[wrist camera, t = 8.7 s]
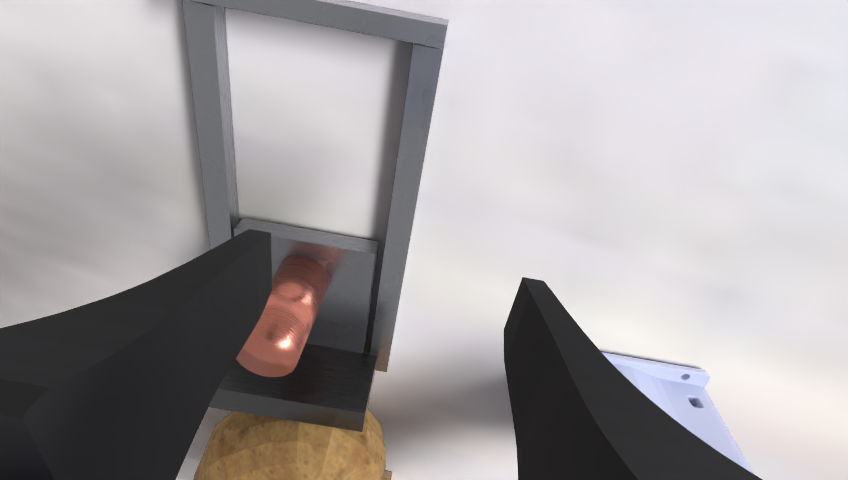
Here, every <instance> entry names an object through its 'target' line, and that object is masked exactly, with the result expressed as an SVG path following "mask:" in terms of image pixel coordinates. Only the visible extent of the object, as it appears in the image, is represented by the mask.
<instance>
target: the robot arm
mask: <svg viewBox="0 0 848 480" xmlns="http://www.w3.org/2000/svg"><path fill="white" fill-rule="evenodd" d="M271 292H272V256H271V233H270V232H264V231H258V230H253V229H248V230H246V231H244V232H242V233H240V234H238V235H237V236H235V237H233V238H231V239H229V240H228V241H226V242H224V243H222V244H220V245H219V246H217V247H215V248H213V249H211V250H210V251H208V252H206V253H204V254H202V255H200V256H199V257H197V258H195V259H193V260H191V261H189V262H187V263H185V264H183V265H181V266H179V267H177V268H175V269H173V270H171V271H169V272H167V273H165V274H163V275H161V276H159V277H156V278H154V279H152V280H150V281H148V282H145V283H143V284H141V285H138V286H136V287H133V288H131V289H128V290H126V291H123V292H121V293H118V294H115V295H113V296H110V297H107V298H105V299H102V300H98V301H95V302H92V303H89V304H86V305H83V306H80V307H77V308H74V309H71V310H68V311H65V312H61V313H58V314H55V315H51V316H47V317H44V318H40V319H36V320H33V321H29V322H25V323H20V324H16V325H12V326H8V327H4V328H0V480H175V479H176V477H177V475H178V472H179V470H180V467H181V465H182V463H183V461H184V459H185V456H186V454H187V452H188V450H189V447H190V445H191V443H192V441H193V438H194V436H195V434H196V432H197V430H198V428H199V425H200V423H201V421H202V419H203V417H204V415H205V413H206V411H207V409H208V406H209V404H210V402H211V400H212V398H213V396H214V395H215V393H216V391H217V389H218V387H219V386H220V384H221V382H222V380H223V379H224V377H225V376H226V374H227V372H228V371H229V369H230V367H231V366H232V364H233V362H234V361H235V359H236V358H237V356H238V354H239V353H240V351H241V349H242V348H243V346H244V344H245V343H246V341H247V340H248V338H249V336H250V335H251V333H252V331H253V330H254V328H255V326H256V325H257V323H258V321H259V319H260V317H261V315H262V313H263V310H264V308H265V306H266V304H267V301H268V299H269V296H270V294H271ZM504 362H505V370H506V376H507V383H508V390H509V396H510V403H511V409H512V416H513V422H514V429H515V436H516V445H517V460H518V480H762V479H761V478H759V477H757V476H756V475H754V473H753V471H752V469H751V467H750V465H749V464H748V462H747V460H746V459H745V457H744V455H743V453H742V452H741V450H740V448H739V447H738V445H737V443H736V441H735V440H734V438H733V436H732V435H731V433H730V431H729V429H728V428H727V426H726V424H725V422H724V421H723V419H722V417H721V416H720V414H719V412H718V410H717V409H716V407H715V405H714V404H713V402H712V400H711V398H710V397H709V395H708V393H707V392H706V390H705V388H704V387H705V385H706V384H707V383H708V381H709V380H710V376H709V374H708V373H707V371H705V370H702V369H696V368H690V367H684V366H679V365H673V364H667V363H661V362H656V361H650V360H644V359H638V358H632V357H627V356H621V355H615V354H609V353H604V352H601V351H600V350H599V349H598V348H597V347H596V346H595V345H594V344H593V342H592V341H591V340H590V339H589V338H588V337H587V335H586V334H585V333H584V332H583V331H582V329H581V328H580V327H579V326H578V324H577V323H576V322H575V321H574V319H573V318H572V317H571V316H570V314H569V313H568V312H567V310H566V309H565V308H564V307H563V305H562V304H561V303H560V301H559V300H558V299H557V297H556V296H555V295H554V293H553V292H552V291H551V290H550V288H549V287H548V286H547V284H546V283H545V282H544V281H541V280H535V279H529V278H524V277H523V278H522V281H521V283H520V286H519V289H518V292H517V295H516V297H515V300H514V303H513V306H512V309H511V311H510V314H509V317H508V320H507V322H506V325H505V328H504Z"/></svg>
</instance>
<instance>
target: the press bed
mask: <svg viewBox="0 0 848 480" xmlns="http://www.w3.org/2000/svg"><path fill="white" fill-rule="evenodd" d="M182 4H183V13H184V22H185V31H186V40H187V49H188V57H189V66H190V75H191V84H192V93H193V101H194V110H195V119H196V128H197V137H198V146H199V154H200V163H201V172H202V181H203V190H204V198H205V207H206V216H207V225H208V234H209V243H210V250H211V249H213V248H215V247H217V246H219V245H220V244H222V243H224V242H226V241H228V240H229V239H231V238H233V237H234V228H235V227H236V226H237V225H238V224H239V213H238V199H237V184H236V169H235V155H234V140H233V126H232V111H231V96H230V82H229V67H228V53H227V38H226V23H225V9H224V7H228V8H233V9H238V10H243V11H249V12H254V13H259V14H264V15H270V16H275V17H280V18H285V19H290V20H296V21H301V22H306V23H311V24H317V25H322V26H327V27H332V28H338V29H343V30H348V31H353V32H359V33H364V34H369V35H374V36H380V37H385V38H390V39H395V40H401V41H406V42H411V43H414V44H413V51H412V58H411V65H410V72H409V79H408V86H407V93H406V100H405V107H404V114H403V121H402V129H401V136H400V143H399V150H398V157H397V164H396V171H395V178H394V185H393V192H392V199H391V207H390V214H389V221H388V228H387V235H386V242H385V249H384V256H383V263H382V270H381V277H380V284H379V292H378V299H377V306H376V313H375V320H374V327H373V334H372V341H371V348H370V354H371V355H376V356H377V361H376V368H375V370H378V371H384V372H387V367H388V361H389V356H390V350H391V344H392V338H393V333H394V327H395V321H396V316H397V310H398V304H399V299H400V293H401V287H402V282H403V276H404V270H405V264H406V259H407V253H408V247H409V242H410V236H411V230H412V225H413V219H414V213H415V208H416V202H417V196H418V190H419V185H420V179H421V173H422V168H423V162H424V156H425V151H426V145H427V139H428V134H429V128H430V122H431V116H432V111H433V105H434V99H435V94H436V88H437V82H438V77H439V71H440V65H441V60H442V54H443V48H444V42H445V37H446V31H447V25H448V20H446V19H441V18H436V17H430V16H425V15H420V14H415V13H410V12H404V11H399V10H394V9H389V8H384V7H378V6H373V5H368V4H363V3H358V2H353V1H347V0H182ZM391 476H392V472H390V471H384V473H383V476H382V479H381V480H391Z"/></svg>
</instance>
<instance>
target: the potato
mask: <svg viewBox="0 0 848 480" xmlns="http://www.w3.org/2000/svg"><path fill="white" fill-rule="evenodd" d="M384 470H385V446H384V440H383V435H382V429H381V424H380V423H379V422H378V421H377V420H376V418H375V417H374V416H373V415H372V414H371V412H370V411H369V410H368V409H367V412H366V417H365V422H364V426H363V431H362V432H358V431H352V430H346V429H340V428H334V427H328V426H322V425H316V424H310V423H304V422H298V421H292V420H286V419H280V418H274V417H268V416H262V415H256V414H250V413H243V412H237V411H233V412H232V413H231V414H230V415H228V416H227V417H226V418H225V419H223V420H222V421H221V422H220V423H218V424H217V425H216V426H215V429H214V431H213V433H212V435H211V438H210V440H209V442H208V445H207V447H206V449H205V452H204V454H203V457H202V459H201V461H200V464H199V466H198V468H197V471H196V473H195V475H194V480H381V479H382V476H383V473H384Z"/></svg>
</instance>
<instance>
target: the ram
mask: <svg viewBox="0 0 848 480" xmlns="http://www.w3.org/2000/svg"><path fill="white" fill-rule="evenodd" d="M248 229H253V230H258V231H264V232H270V233H271V256H272V292H271V294H270V296H269V299H268V301H267V304H266V306H265V308H264V310H263V313H262V315H261V317H260V319H259V321H258V323H257V325H256V326H255V328H254V330H253V331H252V333H251V335H250V336H249V338H248V340H247V341H246V343H245V344H244V346H243V348H242V349H241V351H240V353H239V354H238V356H237V358H236V359H235V361H234V362H233V364H232V366H231V367H230V369H229V371H228V372H227V374H226V376H225V377H224V379H223V380H222V382H221V384H220V386H219V387H218V389H217V391H216V393H215V395H214V396H213V398H212V400H211V402H210V404H209V406H208V407H213V408H219V409H225V410H231V411H237V412H243V413H250V414H256V415H262V416H268V417H274V418H280V419H286V420H292V421H298V422H304V423H310V424H316V425H322V426H328V427H334V428H340V429H346V430H352V431H358V432H362V431H363V426H364V422H365V417H366V412H367V407H368V403H369V398H370V393H371V388H372V384H373V379H374V374H375V368H376V361H377V356H376V355H371V354H365V353H363V352H364V348H365V343H366V335H367V328H368V320H369V313H370V305H371V297H372V290H373V282H374V275H375V267H376V259H377V252H378V244H379V242H378V241H373V240H367V239H361V238H356V237H350V236H344V235H339V234H333V233H328V232H322V231H316V230H311V229H305V228H299V227H294V226H288V225H283V224H277V223H271V222H266V221H260V220H254V219H249V218H243V219H242V220H241V221H240V222H239V224H238V225H237V226H236V227H235V228H234V237H235V236H237V235H238V234H240V233H242V232H244V231H246V230H248Z"/></svg>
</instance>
